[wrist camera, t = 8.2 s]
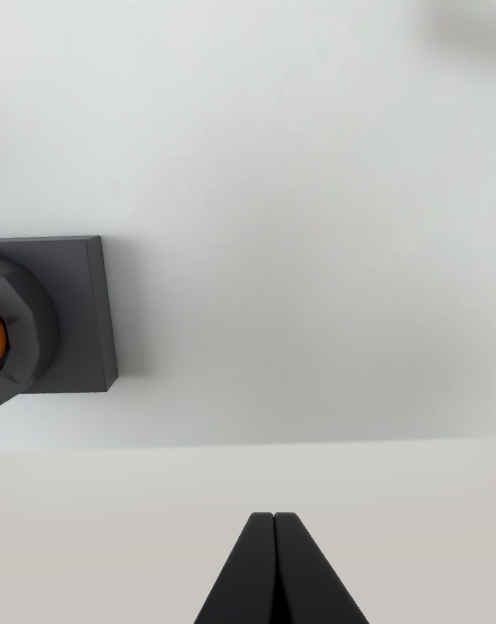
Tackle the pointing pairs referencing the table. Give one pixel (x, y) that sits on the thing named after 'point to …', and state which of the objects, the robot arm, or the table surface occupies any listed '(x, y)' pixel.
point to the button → (2, 340)
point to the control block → (55, 317)
